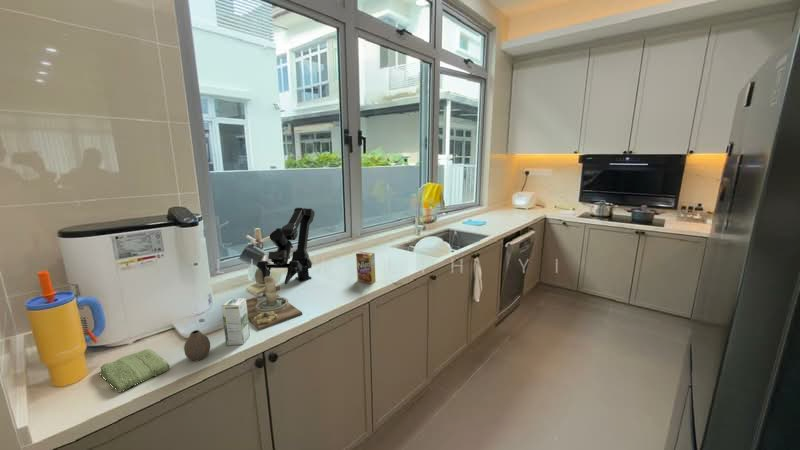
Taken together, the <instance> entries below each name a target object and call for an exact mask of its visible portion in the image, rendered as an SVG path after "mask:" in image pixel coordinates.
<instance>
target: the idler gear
mask: <svg viewBox="0 0 800 450" xmlns="http://www.w3.org/2000/svg"><path fill="white" fill-rule="evenodd" d="M275 280H276V279H275V275H269V276H267V277H265V278H264V281H263V283H264V282H265V284H264V289H265V290H264V291H265V293H266V300H267V302H266V303H263V307H262V309H274V308H277V307H280V306H282V304H283V303H282V301H281V300H280V301H279V300H277V296H276V294H277V289H276V281H275Z"/></svg>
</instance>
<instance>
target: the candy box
mask: <svg viewBox="0 0 800 450" xmlns="http://www.w3.org/2000/svg"><path fill="white" fill-rule="evenodd" d="M375 255H376V254H375V252H365V251H360V250H359V251H358V252H356V253H355V256H356V257H355V258H356V261H355V262H356V276H357V282H362V283H367V284H373V283H375V282H376V259H375Z"/></svg>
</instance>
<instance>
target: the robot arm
mask: <svg viewBox="0 0 800 450" xmlns="http://www.w3.org/2000/svg"><path fill="white" fill-rule="evenodd" d="M314 218H315V210H313V209H312V208H305V207H296V208H294V210H293V213H292V215H291V217H290V219H289V221H288V222H287V224H285V225H283V226H282V227H278V228H276V229H274V231H272V232H271V233H270V234H269V239H270V241H271V242H272V243H273V244H274V245H275V247H277V250H275V251H269V252H268V257H267V258H268V259H267V260H259V261H257V263H256V265H255V266H256V268H257V269H259V270H260V271H261V272H262V278H263V279H262V280H263V284H264V285H265V282H264V278H265V277H267V276H271V275H270V274H271V269H287V272H286V276H285V279H284V285H287V284H288V283H289V282H290V281H291V279H292V278H293V277H294V276H295V275H296V274H297V276H296V277H294V278H295V280H297V281H300V282H303V281H307V280H309V279H312V276H310V273H309V269H312V264H313V262H312V260H311V259H310V255H309V253H308V251H307V249H308V239H309V230H310V225H311V224H312V222H313V221H314ZM298 227H299V232H298ZM297 239H298V240H297ZM295 240H297V247H296V250H295V251H292V256H290V255H291V250H292V249H293V248H294V245H293V243H292V242H291V241H295ZM290 259H291V260H290ZM268 260H270V262H271V263H269V262H268ZM289 260H290V261H289Z"/></svg>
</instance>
